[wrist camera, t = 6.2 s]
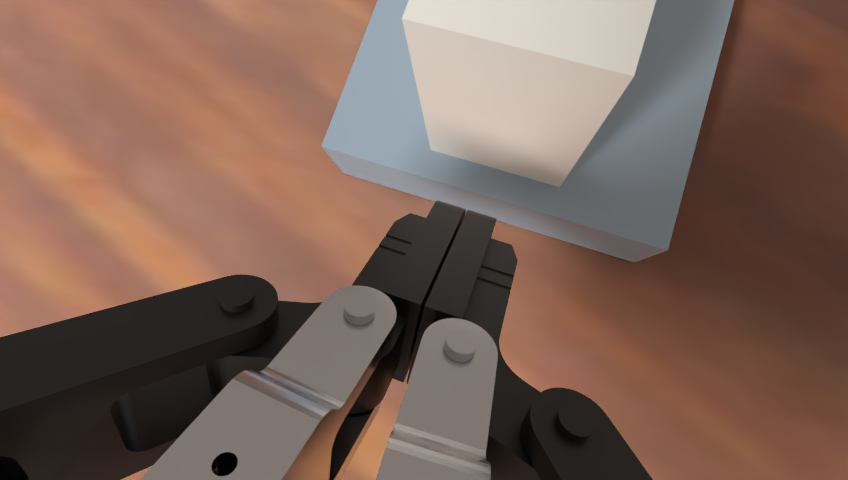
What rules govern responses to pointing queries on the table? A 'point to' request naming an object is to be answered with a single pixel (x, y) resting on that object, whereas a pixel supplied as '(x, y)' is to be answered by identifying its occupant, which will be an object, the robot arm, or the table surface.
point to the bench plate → (595, 169)
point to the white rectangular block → (522, 76)
